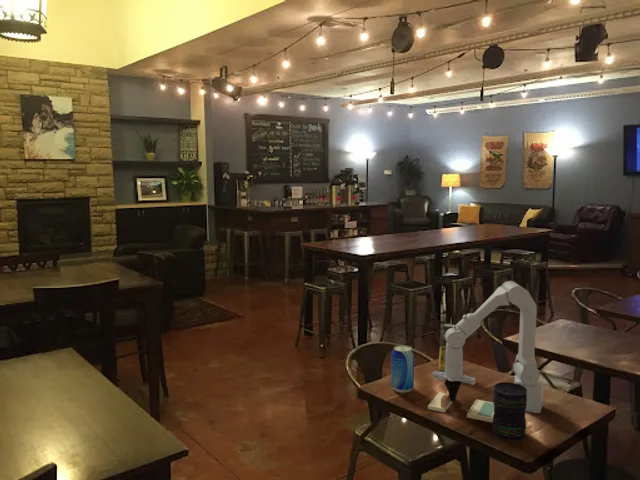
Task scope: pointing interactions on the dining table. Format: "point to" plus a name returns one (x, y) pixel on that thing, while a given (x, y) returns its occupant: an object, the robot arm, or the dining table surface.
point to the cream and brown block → (440, 402)
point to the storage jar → (509, 411)
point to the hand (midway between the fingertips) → (453, 400)
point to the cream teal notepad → (482, 411)
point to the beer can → (402, 369)
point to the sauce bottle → (443, 349)
